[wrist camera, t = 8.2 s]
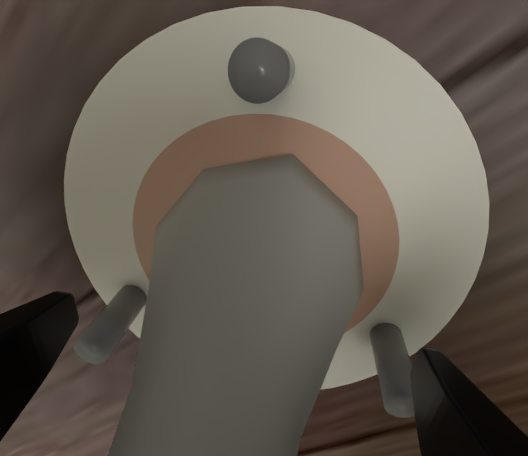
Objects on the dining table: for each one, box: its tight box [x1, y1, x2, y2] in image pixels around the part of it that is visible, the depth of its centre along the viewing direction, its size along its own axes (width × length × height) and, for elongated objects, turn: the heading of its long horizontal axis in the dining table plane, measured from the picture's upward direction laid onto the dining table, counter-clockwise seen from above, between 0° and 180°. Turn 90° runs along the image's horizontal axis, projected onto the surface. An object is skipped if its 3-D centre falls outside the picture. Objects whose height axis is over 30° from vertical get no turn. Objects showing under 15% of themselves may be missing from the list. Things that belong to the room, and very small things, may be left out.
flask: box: [108, 154, 364, 456], centre depth 7 cm, size 7×7×10 cm
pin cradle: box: [64, 6, 489, 418], centre depth 11 cm, size 15×15×4 cm
